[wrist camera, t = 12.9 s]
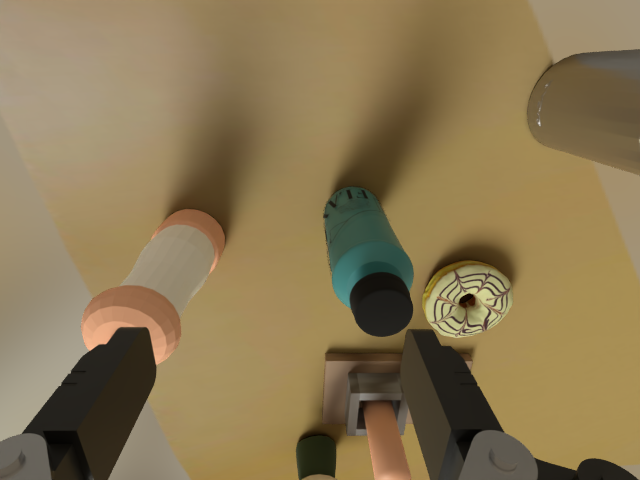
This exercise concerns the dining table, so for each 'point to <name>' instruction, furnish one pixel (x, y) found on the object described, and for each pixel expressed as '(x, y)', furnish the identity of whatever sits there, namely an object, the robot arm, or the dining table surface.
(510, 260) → the dining table surface
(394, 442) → the peg
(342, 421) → the holder
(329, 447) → the character mug
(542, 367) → the dining table surface
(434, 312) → the decorated donut
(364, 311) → the beverage bottle
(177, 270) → the pepper shaker
